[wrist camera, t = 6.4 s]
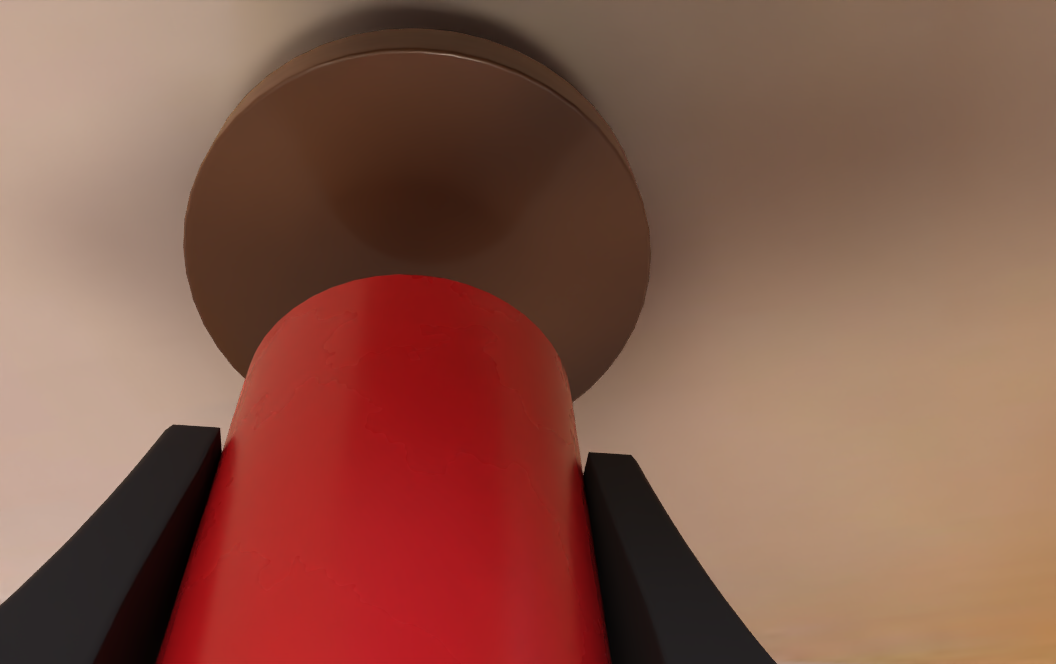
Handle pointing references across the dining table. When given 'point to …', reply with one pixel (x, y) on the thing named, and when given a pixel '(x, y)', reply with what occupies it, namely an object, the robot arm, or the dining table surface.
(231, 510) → the can
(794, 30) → the dining table surface
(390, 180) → the coaster
